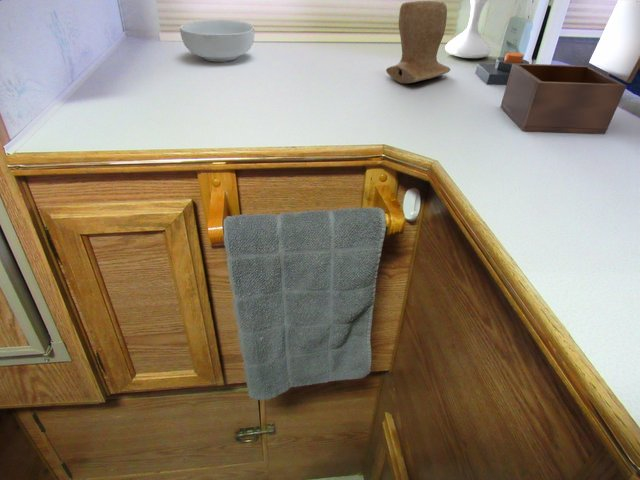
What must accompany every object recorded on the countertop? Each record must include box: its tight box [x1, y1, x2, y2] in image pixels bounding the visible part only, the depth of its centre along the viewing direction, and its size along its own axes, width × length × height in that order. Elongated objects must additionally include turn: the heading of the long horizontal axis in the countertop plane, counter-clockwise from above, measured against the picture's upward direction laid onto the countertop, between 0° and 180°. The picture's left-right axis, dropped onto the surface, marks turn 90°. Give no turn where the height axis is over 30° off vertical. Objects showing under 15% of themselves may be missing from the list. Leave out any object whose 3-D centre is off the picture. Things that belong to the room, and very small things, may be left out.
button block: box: [474, 56, 530, 86], centre depth 93 cm, size 12×9×4 cm
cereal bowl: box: [179, 19, 255, 63], centre depth 100 cm, size 17×17×7 cm
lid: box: [588, 0, 640, 84], centre depth 65 cm, size 14×12×1 cm
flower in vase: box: [444, 0, 492, 59], centre depth 104 cm, size 13×11×25 cm
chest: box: [499, 63, 628, 135], centre depth 72 cm, size 14×12×8 cm
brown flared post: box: [385, 0, 451, 84], centre depth 89 cm, size 15×12×15 cm
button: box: [504, 51, 524, 63], centre depth 91 cm, size 4×4×2 cm
